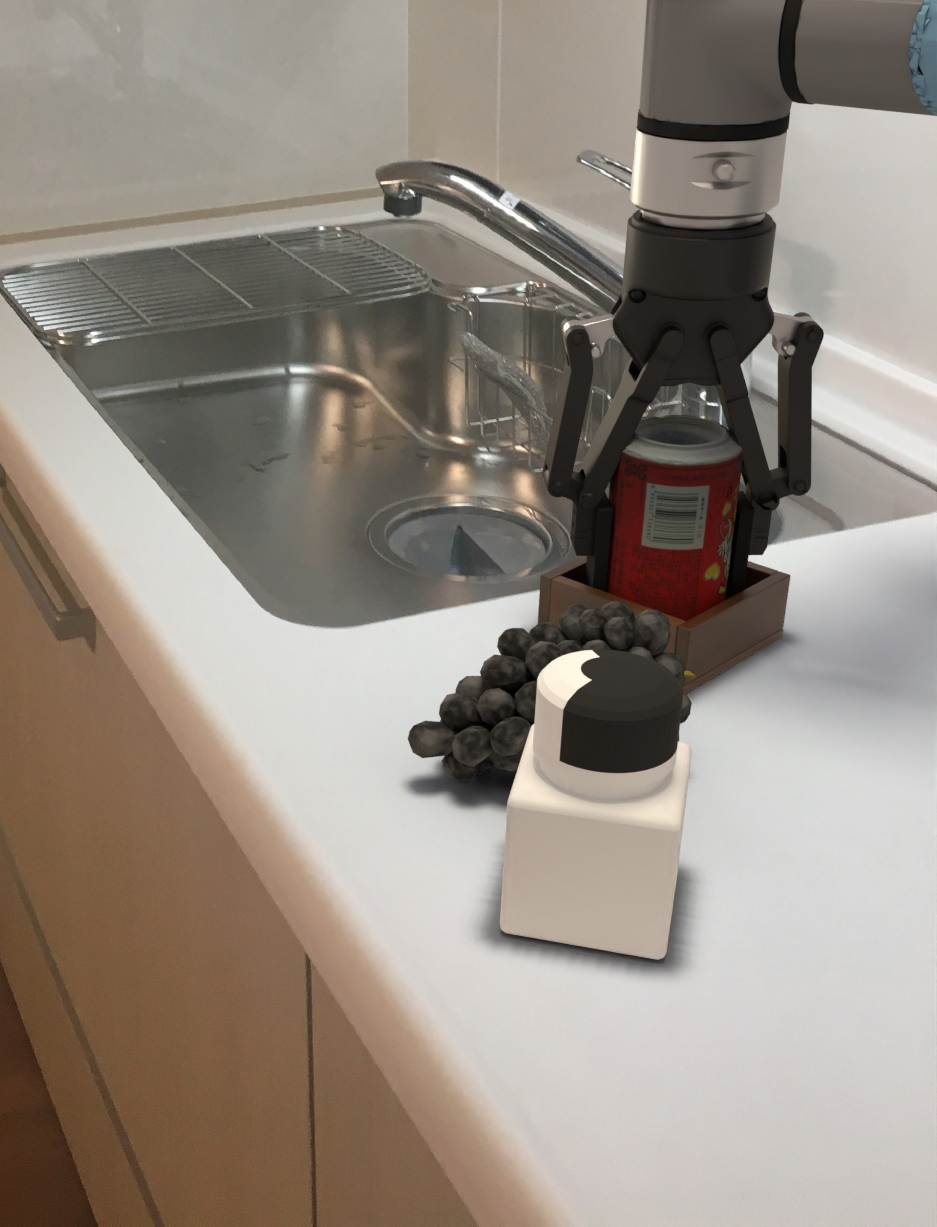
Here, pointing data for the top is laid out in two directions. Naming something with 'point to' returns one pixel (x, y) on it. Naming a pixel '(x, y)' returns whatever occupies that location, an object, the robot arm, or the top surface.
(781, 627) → the wooden box tray
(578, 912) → the medicine bottle
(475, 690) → the fruit
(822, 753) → the top surface
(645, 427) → the soda can
